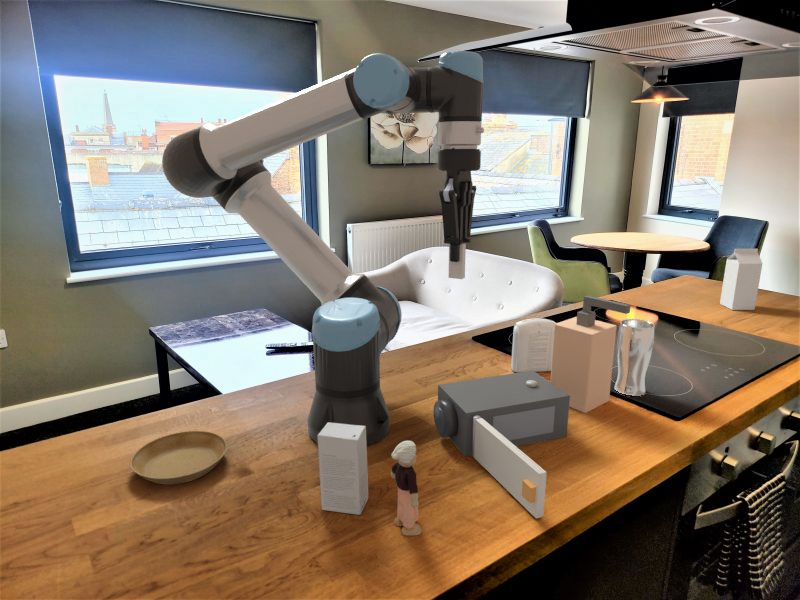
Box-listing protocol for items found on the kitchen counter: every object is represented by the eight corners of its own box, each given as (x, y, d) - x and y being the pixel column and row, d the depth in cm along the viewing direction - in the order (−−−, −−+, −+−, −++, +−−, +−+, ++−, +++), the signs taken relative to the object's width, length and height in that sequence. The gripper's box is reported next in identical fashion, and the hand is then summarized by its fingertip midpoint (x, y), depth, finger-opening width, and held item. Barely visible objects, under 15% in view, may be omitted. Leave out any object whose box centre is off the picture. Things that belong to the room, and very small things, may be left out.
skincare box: (369, 498, 82) (367, 425, 79) (360, 516, 78) (358, 440, 75) (330, 493, 84) (327, 421, 80) (320, 510, 80) (316, 435, 76)
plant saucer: (157, 442, 98) (155, 429, 98) (239, 443, 98) (238, 430, 97) (114, 493, 84) (111, 478, 84) (210, 493, 84) (209, 478, 83)
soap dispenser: (548, 398, 114) (556, 295, 108) (572, 387, 119) (581, 288, 114) (604, 421, 105) (616, 309, 99) (628, 408, 110) (640, 301, 104)
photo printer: (550, 364, 132) (553, 315, 129) (557, 371, 128) (561, 320, 124) (508, 367, 131) (511, 317, 127) (514, 374, 126) (517, 322, 123)
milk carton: (754, 310, 174) (764, 250, 169) (731, 310, 174) (741, 250, 169) (741, 304, 181) (751, 246, 176) (719, 304, 181) (728, 246, 176)
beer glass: (620, 381, 122) (627, 316, 118) (652, 390, 118) (661, 323, 114) (606, 390, 118) (613, 323, 114) (639, 401, 113) (647, 331, 109)
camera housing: (452, 459, 92) (453, 412, 90) (426, 425, 103) (426, 383, 101) (566, 436, 99) (570, 392, 97) (530, 407, 110) (533, 367, 108)
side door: (466, 455, 92) (467, 417, 91) (477, 452, 93) (478, 414, 91) (531, 519, 76) (534, 475, 75) (543, 516, 77) (546, 472, 75)
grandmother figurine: (434, 533, 75) (435, 449, 71) (411, 545, 72) (411, 459, 69) (401, 504, 81) (401, 425, 77) (379, 514, 79) (377, 434, 75)
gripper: (467, 147, 91) (463, 287, 97) (491, 147, 102) (486, 272, 108) (425, 147, 94) (424, 283, 100) (453, 147, 105) (450, 269, 112)
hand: (456, 277), depth 104 cm, fingers closed
